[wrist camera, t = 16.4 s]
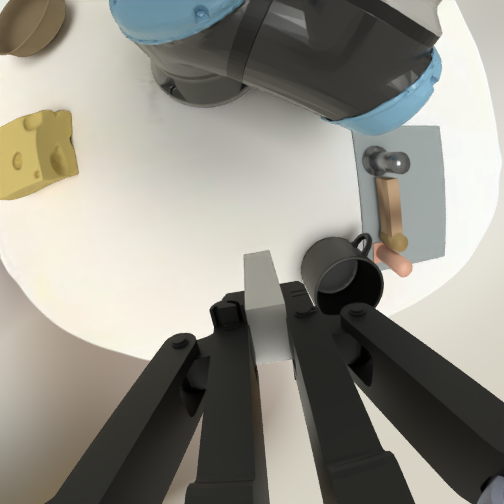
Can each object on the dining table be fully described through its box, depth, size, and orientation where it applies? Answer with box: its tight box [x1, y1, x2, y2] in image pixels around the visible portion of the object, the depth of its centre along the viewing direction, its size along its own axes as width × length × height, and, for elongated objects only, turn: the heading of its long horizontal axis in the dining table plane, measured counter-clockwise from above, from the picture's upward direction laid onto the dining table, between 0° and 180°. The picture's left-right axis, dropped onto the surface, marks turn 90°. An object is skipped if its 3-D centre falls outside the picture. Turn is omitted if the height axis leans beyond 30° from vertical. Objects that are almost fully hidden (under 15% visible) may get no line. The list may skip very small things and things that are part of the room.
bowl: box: [0, 0, 66, 57], centre depth 25 cm, size 13×13×10 cm
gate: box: [376, 176, 408, 252], centre depth 38 cm, size 10×2×4 cm, turn 12°
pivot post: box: [362, 146, 410, 176], centre depth 35 cm, size 4×4×8 cm
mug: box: [301, 233, 384, 315], centre depth 39 cm, size 9×12×9 cm
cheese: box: [0, 110, 78, 200], centre depth 32 cm, size 10×11×10 cm
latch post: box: [373, 242, 412, 277], centre depth 40 cm, size 3×3×8 cm
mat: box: [352, 126, 446, 271], centre depth 41 cm, size 22×16×1 cm
